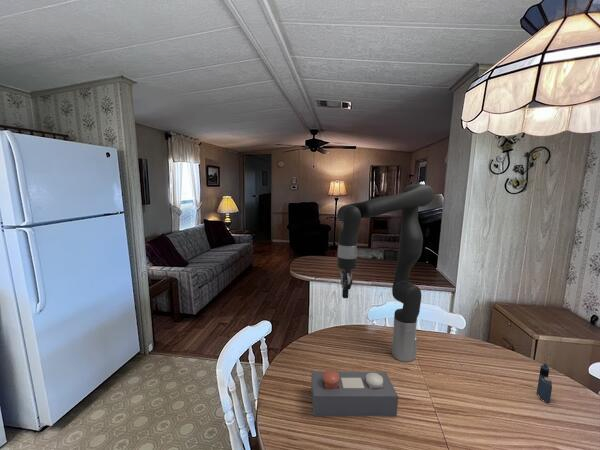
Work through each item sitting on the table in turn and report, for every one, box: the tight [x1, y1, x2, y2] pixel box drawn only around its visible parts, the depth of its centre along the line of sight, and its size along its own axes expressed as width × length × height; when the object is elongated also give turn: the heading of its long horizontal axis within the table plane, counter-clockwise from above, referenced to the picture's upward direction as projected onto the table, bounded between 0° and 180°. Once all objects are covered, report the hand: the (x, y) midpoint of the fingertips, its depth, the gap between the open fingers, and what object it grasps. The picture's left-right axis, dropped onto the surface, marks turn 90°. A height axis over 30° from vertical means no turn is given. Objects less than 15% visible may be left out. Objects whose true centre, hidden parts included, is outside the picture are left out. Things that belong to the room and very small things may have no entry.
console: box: [310, 371, 399, 417], centre depth 95 cm, size 27×12×7 cm, turn 92°
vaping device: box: [536, 363, 553, 403], centre depth 99 cm, size 3×5×12 cm, turn 161°
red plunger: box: [322, 369, 339, 388], centre depth 95 cm, size 6×6×8 cm
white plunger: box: [366, 373, 383, 389], centre depth 95 cm, size 6×6×8 cm
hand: (345, 297), depth 113 cm, fingers closed
